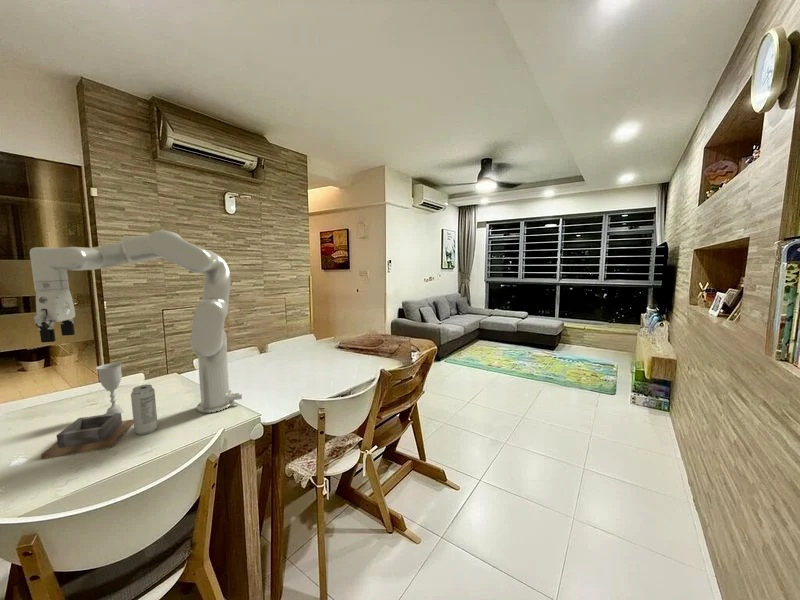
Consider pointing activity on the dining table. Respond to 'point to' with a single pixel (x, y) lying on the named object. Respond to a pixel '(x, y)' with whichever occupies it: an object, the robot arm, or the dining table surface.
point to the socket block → (89, 435)
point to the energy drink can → (144, 409)
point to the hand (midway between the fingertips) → (59, 338)
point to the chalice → (111, 382)
